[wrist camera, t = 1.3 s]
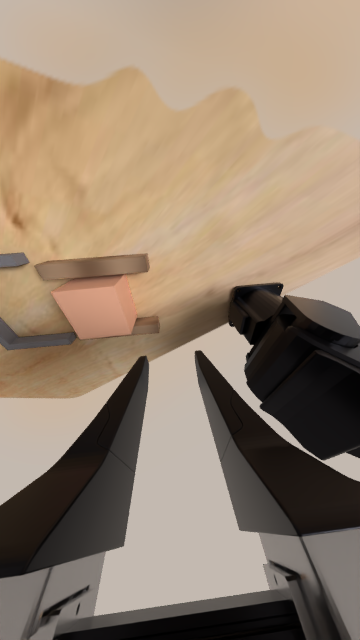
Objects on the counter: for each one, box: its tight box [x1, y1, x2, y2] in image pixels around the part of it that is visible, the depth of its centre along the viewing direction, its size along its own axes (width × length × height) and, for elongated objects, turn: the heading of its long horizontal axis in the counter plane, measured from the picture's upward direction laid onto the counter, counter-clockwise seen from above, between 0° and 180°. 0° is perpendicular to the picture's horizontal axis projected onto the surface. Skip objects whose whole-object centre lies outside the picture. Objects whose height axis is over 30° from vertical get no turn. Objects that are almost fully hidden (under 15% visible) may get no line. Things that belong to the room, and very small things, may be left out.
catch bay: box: [0, 253, 76, 350], centre depth 18 cm, size 9×12×2 cm
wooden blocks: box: [34, 254, 160, 340], centre depth 18 cm, size 11×10×2 cm
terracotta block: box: [51, 274, 137, 339], centre depth 17 cm, size 6×6×4 cm
